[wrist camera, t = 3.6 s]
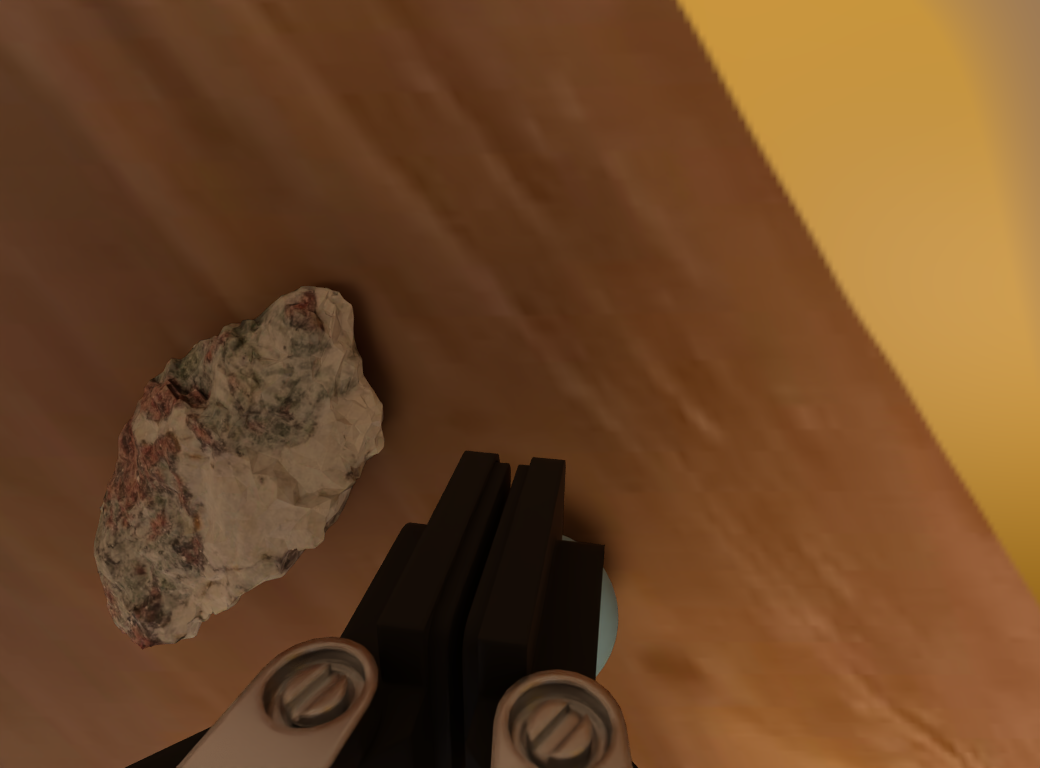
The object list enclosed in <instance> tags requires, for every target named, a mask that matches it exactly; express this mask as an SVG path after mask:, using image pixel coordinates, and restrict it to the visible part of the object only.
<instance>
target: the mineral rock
mask: <svg viewBox="0 0 1040 768" xmlns="http://www.w3.org/2000/svg"><path fill="white" fill-rule="evenodd" d="M353 323H354V315H353V308H352V305H351V304H350V303H348V302H347V301H345V300H344V299H343V297H342V296H341V294H340V293H339V292H337V291H333V290H330V289H328V288H319V287H314V286H301V287H300V288H299V289H297V290H295V291H293V292H291V293H289V294H287V295H282V296H280V297H279V298H278V299H277V300H276V301H275V302H274V303H273V304H271V305H270V306H269V307H268V308H267V309H266V310H265V311H264V312H263V313H262V314H261V315H260V316H259V317H257V318H256V319H254V320H243V321H242V323H236V324H235V323H231V324H229V325H227V326H224V327H223V329H222V330H221V332H220V334H219V336H218V337H217V336H214V337H212V338H209V339H206V340H202V341H199V342H198V344H195V345H194V346H193V349H192V350H191V351H190V352H189V354H188V355H186V357H184V358H183V359H173V358H171V359H170V360H169V362H168V363H167V364H166V367H165V370H164V371H163V372H162V373H161V374H159V375H158V376H156V377H155V378H153V379H151V380H150V381H149V382H148V383H147V385H146V386H145V387H144V388H145V392H144V395H143V397H142V399H140V400H139V401H138V403H137V406H136V409H135V412H134V415H133V416H132V418H131V419H130V420H129V422H128V423H127V424H125V426H124V428H123V430H122V431H121V433H120V435H119V437H118V445H119V455H118V460H117V462H116V468H115V472H114V474H113V476H112V478H111V479H110V481H109V482H108V483H107V487H108V489H107V491H106V494H105V497H104V499H103V500H104V502H103V504H102V506H101V507H100V510H101V515H100V521H99V525H98V529H97V532H96V537H95V541H94V557H95V559H96V564H97V568H98V573H99V575H100V579H101V582H102V585H103V588H104V591H105V595H106V597H107V608H108V610H109V612H110V615H111V617H112V619H113V621H114V623H115V624H116V625H117V627H118V628H119V629H120V630H121V631H122V633H125V634H128V636H129V637H130V639H131V640H132V641H133V642H134V643H136V644H137V645H139V646H140V647H141V648H142V649H144V648H147V647H152V646H154V645H160V644H175V643H177V642H178V641H179V640H181V639H187V638H192V637H194V636H196V635H197V633H198V630H199V628H200V625H201V622H204V621H206V620H208V619H209V617H210V616H211V614H212V613H214V614H215V615H216V614H218V613H220V612H222V611H225V610H228V609H229V608H231V607H232V606H233V605H235V604H236V603H237V602H238V601H239V599H240V597H241V595H242V594H244V593H245V592H247V591H249V590H251V589H253V588H254V587H256V586H257V585H259V584H261V583H262V582H265V581H268V580H272V579H276V578H280V577H282V576H283V575H285V573H286V572H287V571H288V570H289V569H290V568H291V567H292V565H293V564H294V563H295V562H296V561H297V559H298V558H299V556H300V555H301V554H302V553H303V551H304V550H305V549H307V548H316V547H317V546H318V545H319V544H320V543H322V542H323V541H324V536H325V532H326V531H327V529H328V528H329V527H330V526H331V525H333V524H334V523H335V522H336V521H337V519H338V517H339V515H340V514H341V512H342V510H343V508H344V507H345V504H346V501H347V500H348V497H349V494H350V491H351V489H352V487H353V484H354V483H355V482H356V481H355V479H357V478H360V476H361V473H362V470H363V468H364V466H365V464H366V461H367V460H369V459H370V458H372V456H373V455H375V454H378V453H379V452H380V451H381V450H382V448H383V447H384V441H385V440H384V436H383V433H382V428H381V423H382V421H383V405H382V403H381V402H380V401H379V399H378V397H377V395H376V394H375V392H374V390H373V389H372V388H371V386H370V385H369V383H368V381H367V380H366V378H365V377H364V375H363V367H362V358H361V356H360V354H359V352H358V350H357V346H356V343H355V340H354V332H353Z"/></svg>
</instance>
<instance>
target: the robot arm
mask: <svg viewBox="0 0 1040 768" xmlns="http://www.w3.org/2000/svg"><path fill="white" fill-rule="evenodd" d="M565 469H566V462H565V460H557V459H547V458H536V457H532V460H531V463H530V466H529V465H519V466H518V468H517V471H516V474H515V477H514V480H513V483H512V486H511V468H510V464H509V463H500V459H499V455H498V454H494V453H484V452H473V451H465V452H464V454H463V455H462V457H461V459H460V461H459V463H458V465H457V467H456V469H455V471H454V473H453V475H452V477H451V479H450V481H449V483H448V485H447V487H446V489H445V491H444V493H443V494H442V496H441V498H440V500H439V502H438V504H437V506H436V508H435V510H434V512H433V514H432V516H431V518H430V520H429V522H428V524H427V525H426V524H418V523H407V524H405V526H404V527H403V528H402V530H401V531H400V533H399V535H398V537H397V538H396V540H395V542H394V544H393V546H392V547H391V549H390V551H389V553H388V554H387V556H386V558H385V560H384V561H383V563H382V565H381V567H380V568H379V570H378V572H377V574H376V575H375V577H374V579H373V581H372V583H371V584H370V586H369V588H368V590H367V591H366V593H365V595H364V597H363V598H362V600H361V602H360V604H359V605H358V607H357V609H356V611H355V612H354V614H353V616H352V618H351V619H350V621H349V623H348V625H347V627H346V628H345V630H344V632H343V634H342V635H341V637H340V638H337V637H326V638H316V639H312V640H309V641H306V642H302V643H299V644H296V645H294V646H292V647H291V648H289V649H287V650H285V651H284V652H282V653H280V654H278V655H277V656H276V657H275V658H274V659H273V660H271V661H270V662H269V663H268V664H267V665H266V666H265V667H264V668H263V669H262V670H261V671H260V672H259V673H258V674H257V676H256V677H255V678H254V679H253V680H252V681H251V682H250V684H249V685H248V686H247V687H246V688H245V689H244V690H243V692H242V693H241V694H240V695H239V696H238V697H237V698H236V700H235V701H234V702H233V703H232V704H231V705H230V706H229V708H228V709H227V710H226V711H225V712H224V713H223V714H222V716H221V717H220V718H219V719H218V720H217V721H216V722H215V724H214V725H213V726H212V727H210V728H208V729H206V730H203V731H201V732H199V733H197V734H195V735H193V736H191V737H189V738H187V739H184V740H182V741H180V742H178V743H176V744H174V745H172V746H170V747H168V748H165V749H163V750H161V751H159V752H157V753H155V754H153V755H151V756H149V757H146V758H144V759H142V760H140V761H138V762H136V763H134V764H132V765H130V766H127V767H125V768H638V767H637V766H636V765H635V764H634V763H633V762H632V759H631V753H630V747H629V740H628V734H627V727H626V723H625V720H624V717H623V714H622V711H621V708H620V706H619V705H618V703H617V702H616V700H615V699H614V698H613V696H612V695H611V694H610V692H609V691H608V690H606V689H605V688H604V687H603V686H601V685H600V684H599V683H597V682H596V666H597V651H598V636H599V622H600V607H601V592H602V577H603V563H604V547H605V545H601V544H593V543H584V542H575V541H566V540H562V532H563V511H564V491H565Z"/></svg>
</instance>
